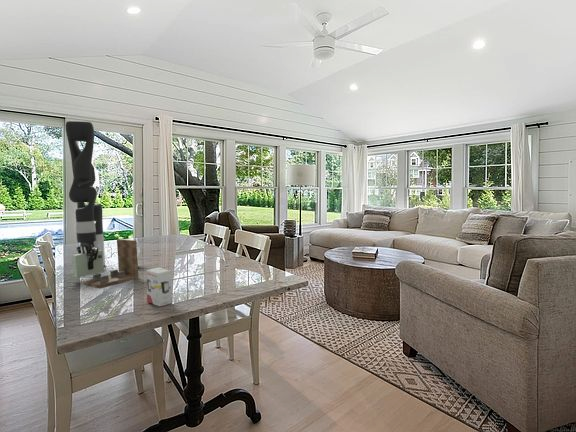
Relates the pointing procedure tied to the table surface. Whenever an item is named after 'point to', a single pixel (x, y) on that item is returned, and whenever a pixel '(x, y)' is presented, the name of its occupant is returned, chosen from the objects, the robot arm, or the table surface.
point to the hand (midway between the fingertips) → (88, 268)
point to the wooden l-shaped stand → (125, 263)
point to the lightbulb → (138, 251)
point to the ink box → (159, 286)
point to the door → (82, 265)
